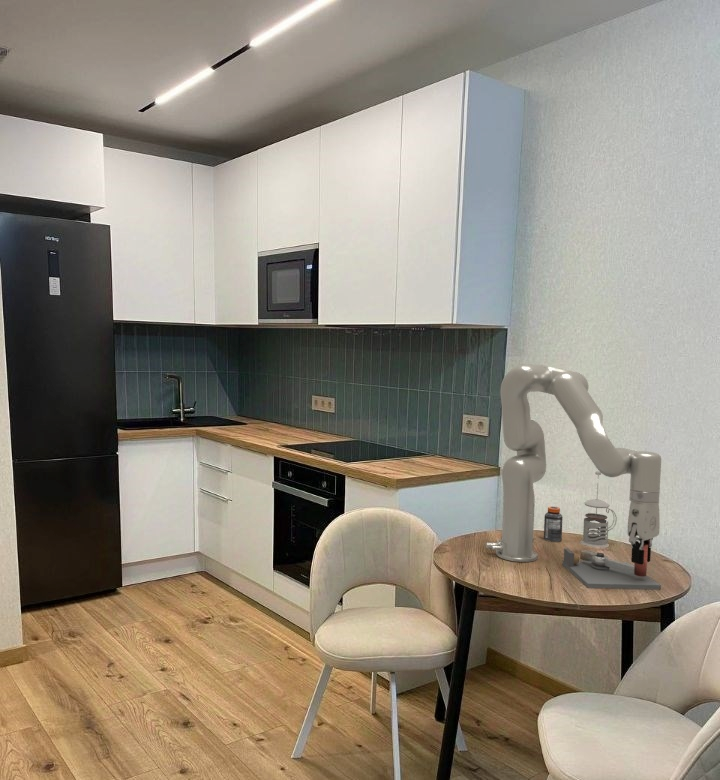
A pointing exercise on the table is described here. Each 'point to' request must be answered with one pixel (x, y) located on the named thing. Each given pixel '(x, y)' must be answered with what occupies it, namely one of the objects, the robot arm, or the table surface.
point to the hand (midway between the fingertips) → (640, 561)
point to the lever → (616, 562)
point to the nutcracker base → (605, 575)
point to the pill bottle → (553, 525)
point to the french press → (593, 538)
